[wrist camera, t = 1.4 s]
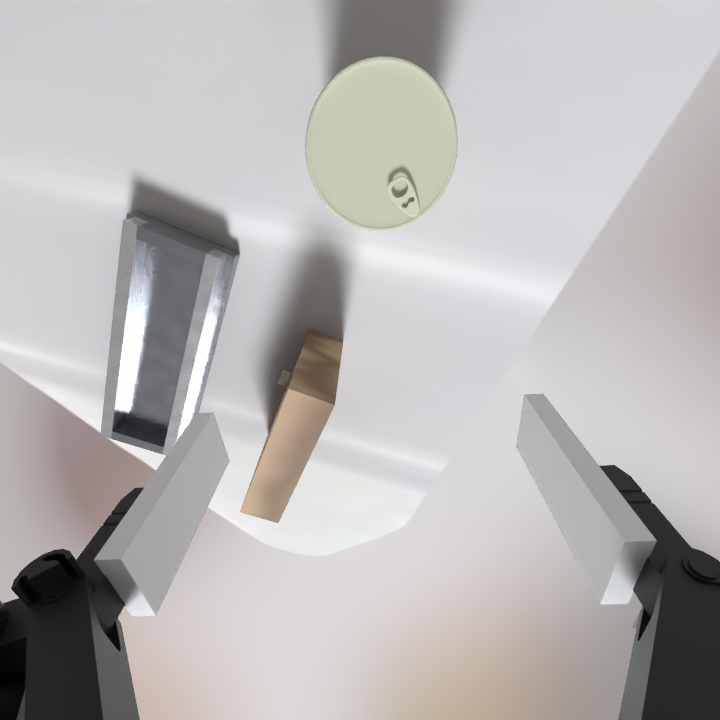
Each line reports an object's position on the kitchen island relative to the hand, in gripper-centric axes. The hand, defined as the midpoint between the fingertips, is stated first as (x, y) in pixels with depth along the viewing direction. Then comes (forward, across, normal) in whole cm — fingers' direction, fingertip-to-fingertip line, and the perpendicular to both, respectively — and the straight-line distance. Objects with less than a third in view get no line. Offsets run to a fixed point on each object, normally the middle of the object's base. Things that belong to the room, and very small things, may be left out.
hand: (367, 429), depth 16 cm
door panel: (+24, -9, -13) cm, 29 cm away
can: (+24, +2, +11) cm, 27 cm away
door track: (+24, -23, -6) cm, 34 cm away
